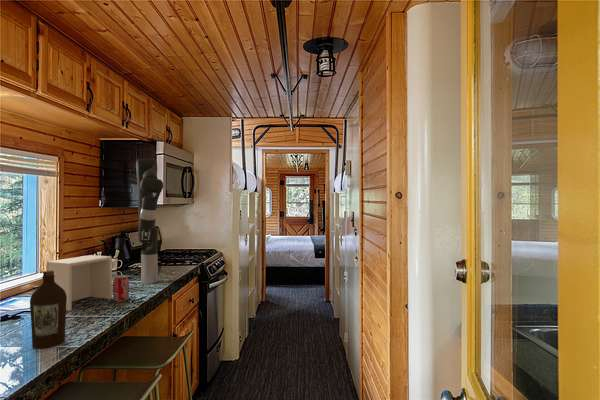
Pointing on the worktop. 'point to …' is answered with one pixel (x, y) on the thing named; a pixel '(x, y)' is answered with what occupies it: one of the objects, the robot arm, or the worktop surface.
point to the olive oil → (48, 313)
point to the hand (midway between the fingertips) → (144, 247)
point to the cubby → (83, 277)
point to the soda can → (120, 288)
